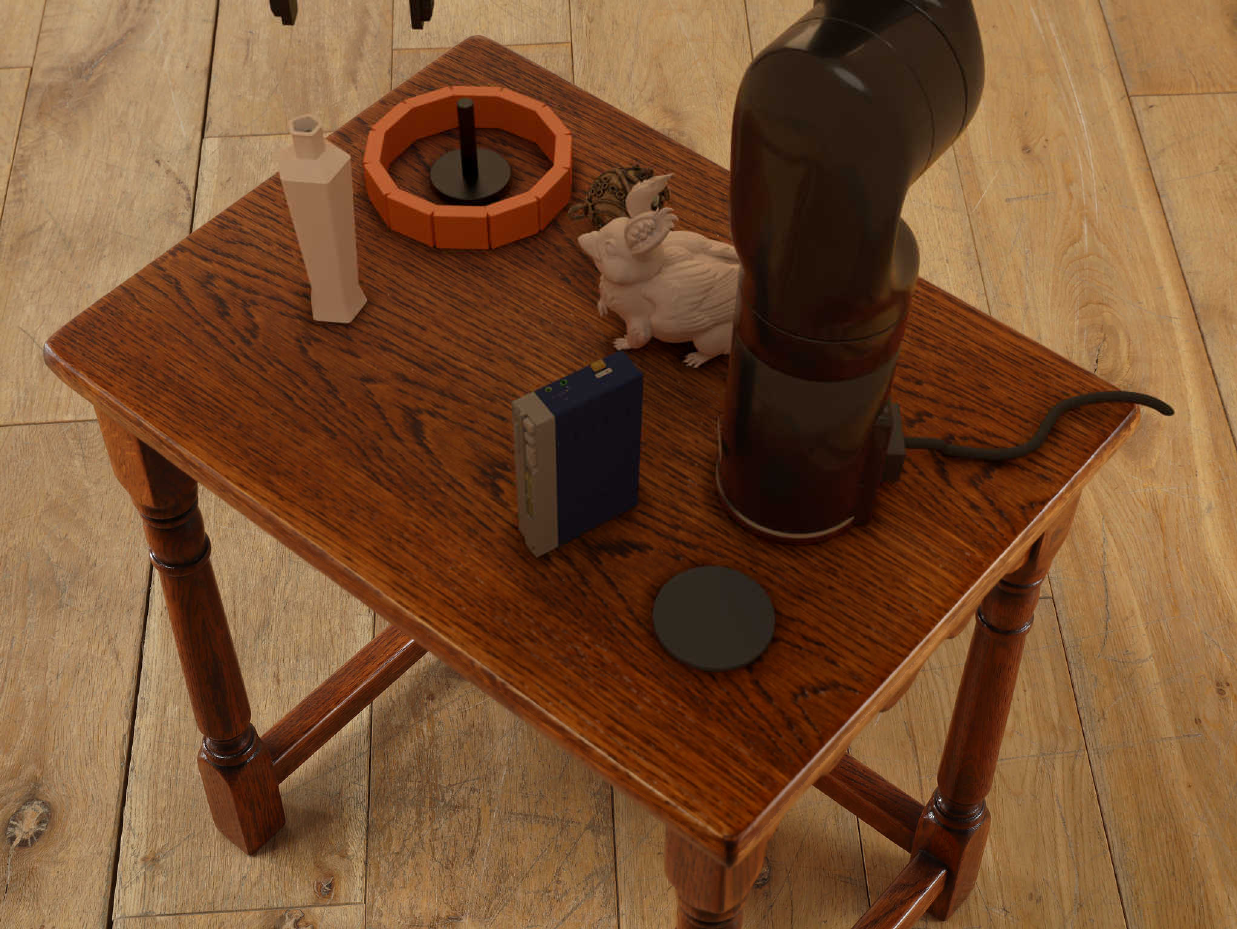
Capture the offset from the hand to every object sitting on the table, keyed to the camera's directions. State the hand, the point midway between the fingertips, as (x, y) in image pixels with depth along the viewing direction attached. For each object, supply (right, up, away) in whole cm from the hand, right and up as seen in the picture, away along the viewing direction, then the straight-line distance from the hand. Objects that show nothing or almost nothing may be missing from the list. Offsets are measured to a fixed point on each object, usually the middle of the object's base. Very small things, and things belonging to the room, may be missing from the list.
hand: (355, 20), depth 99 cm
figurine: (+22, -21, +1) cm, 31 cm away
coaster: (+23, -38, -14) cm, 47 cm away
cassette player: (+15, -33, -9) cm, 37 cm away
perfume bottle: (-2, -19, +2) cm, 19 cm away
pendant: (+18, -13, +7) cm, 23 cm away
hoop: (+7, -9, +10) cm, 15 cm away
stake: (+7, -9, +10) cm, 15 cm away
